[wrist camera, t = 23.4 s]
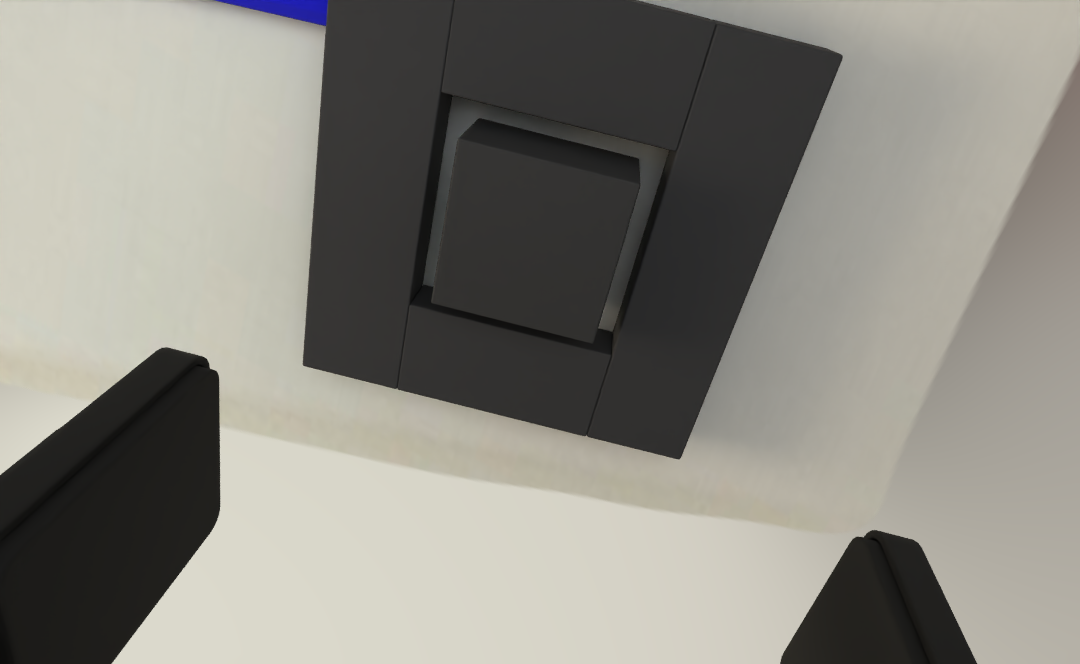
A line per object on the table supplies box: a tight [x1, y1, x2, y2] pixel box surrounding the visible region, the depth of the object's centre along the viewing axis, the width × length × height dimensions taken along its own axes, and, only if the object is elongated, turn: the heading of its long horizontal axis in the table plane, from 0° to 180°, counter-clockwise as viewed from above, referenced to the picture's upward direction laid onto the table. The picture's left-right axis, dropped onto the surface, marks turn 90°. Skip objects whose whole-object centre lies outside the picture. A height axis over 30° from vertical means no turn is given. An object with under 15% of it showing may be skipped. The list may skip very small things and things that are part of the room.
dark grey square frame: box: [303, 0, 843, 459], centre depth 26 cm, size 16×16×2 cm
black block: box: [431, 119, 640, 343], centre depth 25 cm, size 6×6×4 cm
